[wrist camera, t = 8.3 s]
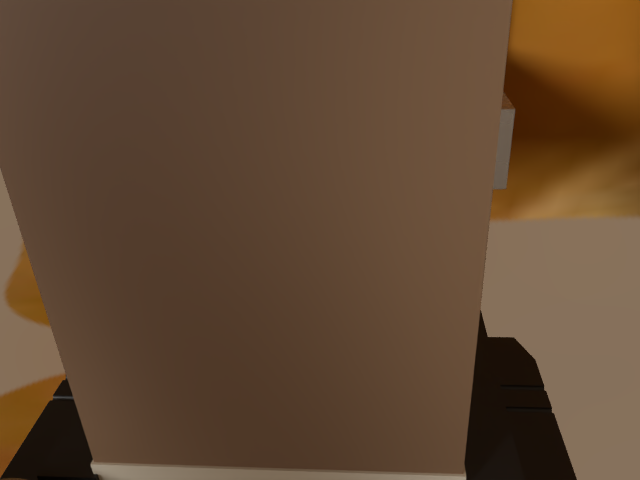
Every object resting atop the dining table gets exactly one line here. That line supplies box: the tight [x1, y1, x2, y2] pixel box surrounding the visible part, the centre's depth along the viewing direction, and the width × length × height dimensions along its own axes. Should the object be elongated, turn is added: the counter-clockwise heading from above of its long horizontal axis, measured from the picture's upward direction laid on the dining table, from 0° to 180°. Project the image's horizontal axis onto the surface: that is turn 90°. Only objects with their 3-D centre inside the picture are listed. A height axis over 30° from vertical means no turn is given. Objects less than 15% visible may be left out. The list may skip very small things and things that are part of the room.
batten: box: [0, 0, 513, 480], centre depth 9 cm, size 4×20×4 cm, turn 2°
